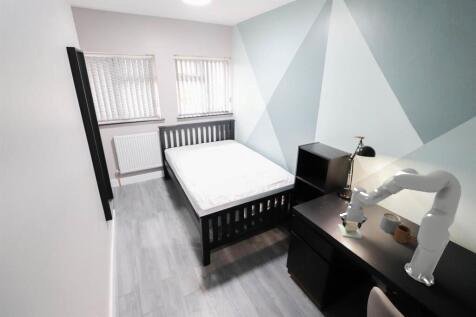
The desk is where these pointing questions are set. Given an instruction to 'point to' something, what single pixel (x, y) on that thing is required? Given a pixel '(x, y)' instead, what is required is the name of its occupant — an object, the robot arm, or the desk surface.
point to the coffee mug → (390, 222)
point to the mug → (403, 234)
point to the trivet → (348, 233)
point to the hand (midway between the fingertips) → (351, 226)
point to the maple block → (350, 227)
